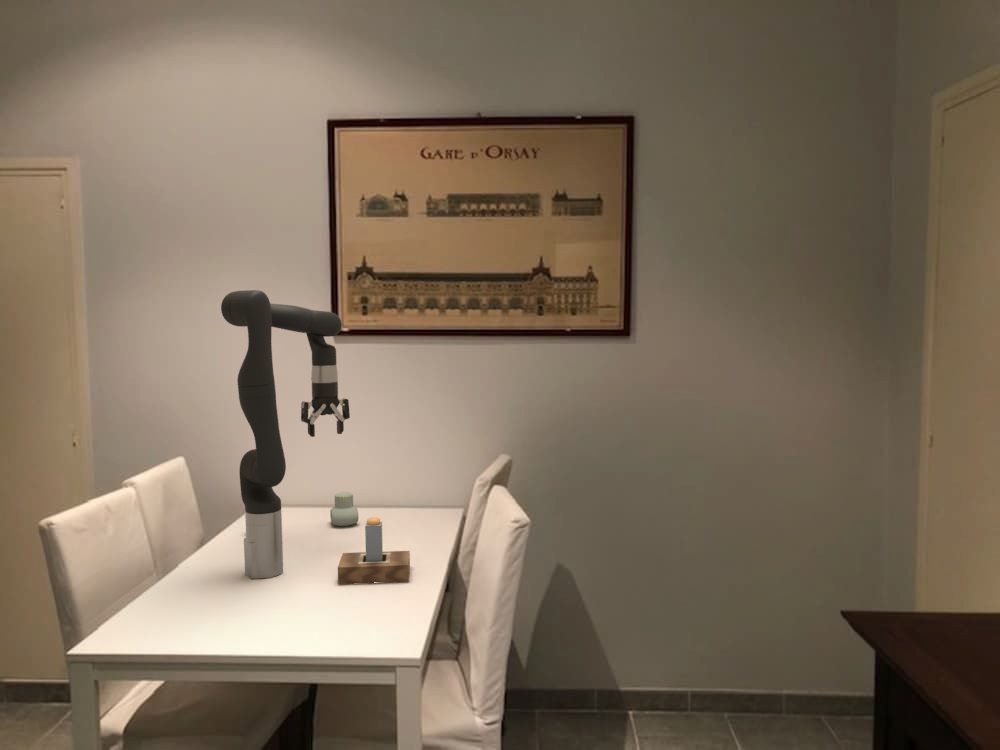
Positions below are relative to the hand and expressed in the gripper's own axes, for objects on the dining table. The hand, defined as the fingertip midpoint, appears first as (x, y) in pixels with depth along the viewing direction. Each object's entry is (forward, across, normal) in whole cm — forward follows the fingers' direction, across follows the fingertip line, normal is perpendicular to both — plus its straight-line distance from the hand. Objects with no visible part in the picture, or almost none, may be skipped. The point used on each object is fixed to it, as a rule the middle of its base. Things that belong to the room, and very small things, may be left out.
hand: (326, 435), depth 236 cm
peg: (+33, -1, -33) cm, 47 cm away
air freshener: (+33, +13, +18) cm, 40 cm away
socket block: (+33, -1, -33) cm, 47 cm away
